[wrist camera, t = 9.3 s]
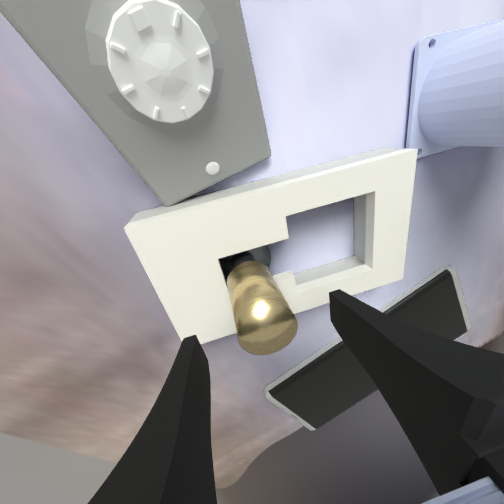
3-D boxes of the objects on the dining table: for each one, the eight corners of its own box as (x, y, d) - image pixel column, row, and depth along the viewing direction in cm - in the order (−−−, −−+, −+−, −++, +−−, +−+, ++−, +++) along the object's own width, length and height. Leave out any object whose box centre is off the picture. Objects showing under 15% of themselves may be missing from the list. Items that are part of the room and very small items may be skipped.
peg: (271, 231, 20) (324, 297, 12) (259, 279, 22) (296, 364, 14) (216, 223, 19) (232, 291, 10) (208, 274, 21) (215, 366, 12)
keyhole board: (382, 147, 19) (417, 148, 16) (376, 261, 24) (402, 279, 21) (136, 212, 17) (123, 228, 14) (187, 320, 22) (185, 349, 19)
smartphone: (461, 320, 33) (474, 329, 32) (307, 421, 36) (312, 434, 34) (443, 258, 27) (458, 265, 26) (259, 385, 30) (263, 399, 28)
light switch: (169, 217, 16) (-282, -291, 4) (156, 170, 19) (-115, -192, 7) (278, 163, 16) (154, -510, 4) (248, 125, 19) (128, -313, 7)
